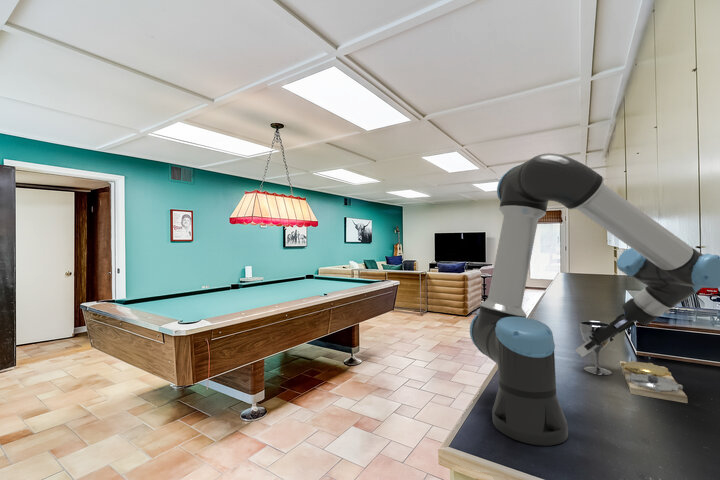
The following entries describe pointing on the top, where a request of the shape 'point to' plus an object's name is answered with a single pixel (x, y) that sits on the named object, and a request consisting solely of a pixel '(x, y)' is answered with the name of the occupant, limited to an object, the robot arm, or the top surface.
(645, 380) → the gear board
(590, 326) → the wine glass
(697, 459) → the top surface
